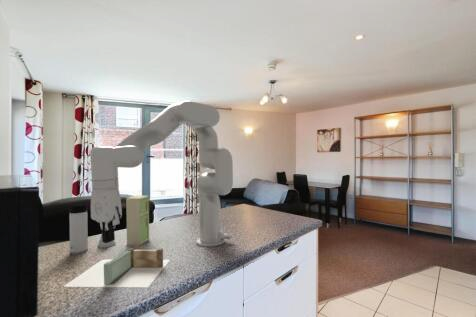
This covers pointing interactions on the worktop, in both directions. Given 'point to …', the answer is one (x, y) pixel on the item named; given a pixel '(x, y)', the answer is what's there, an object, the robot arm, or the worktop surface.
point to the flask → (103, 245)
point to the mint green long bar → (117, 267)
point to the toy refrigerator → (137, 219)
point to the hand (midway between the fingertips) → (108, 241)
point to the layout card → (127, 279)
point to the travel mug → (78, 229)
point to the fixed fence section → (146, 258)
